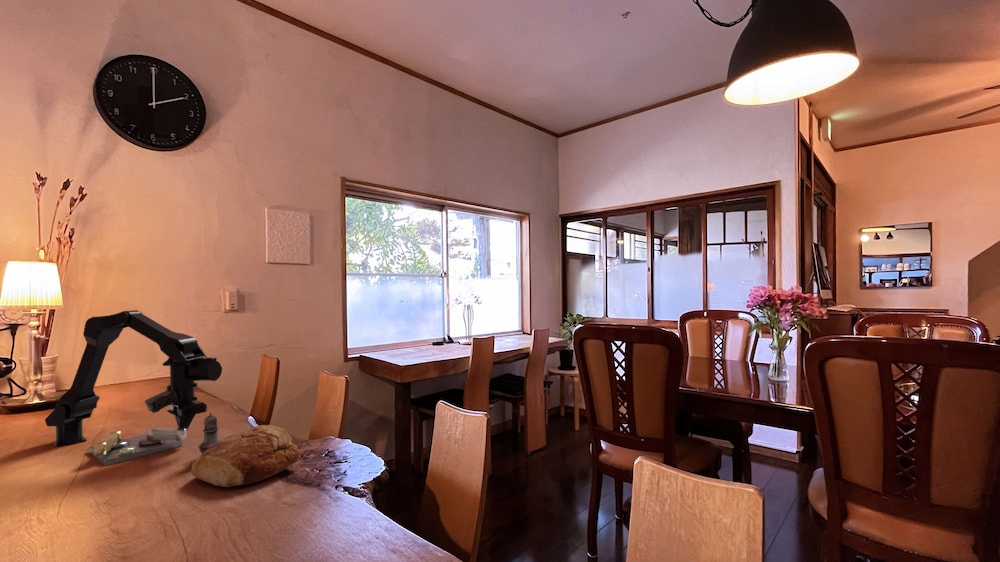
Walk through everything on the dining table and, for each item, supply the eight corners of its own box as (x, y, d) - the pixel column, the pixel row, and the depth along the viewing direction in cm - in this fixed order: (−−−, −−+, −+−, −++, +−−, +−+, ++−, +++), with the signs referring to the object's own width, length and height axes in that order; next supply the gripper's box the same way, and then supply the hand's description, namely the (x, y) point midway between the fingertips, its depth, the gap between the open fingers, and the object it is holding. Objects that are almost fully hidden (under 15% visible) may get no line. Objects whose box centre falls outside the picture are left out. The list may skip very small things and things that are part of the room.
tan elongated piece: (106, 443, 124) (106, 430, 124) (132, 440, 127) (132, 427, 127) (83, 460, 112) (83, 446, 112) (113, 457, 114) (113, 442, 114)
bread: (302, 464, 113) (301, 425, 113) (237, 496, 96) (236, 451, 96) (245, 453, 120) (245, 417, 120) (175, 482, 104) (175, 440, 104)
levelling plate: (89, 452, 122) (89, 443, 122) (163, 434, 136) (163, 426, 136) (104, 466, 113) (104, 456, 113) (182, 445, 126) (182, 436, 126)
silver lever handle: (132, 445, 123) (132, 432, 123) (151, 437, 129) (151, 425, 129) (177, 446, 122) (176, 432, 122) (193, 438, 128) (193, 425, 128)
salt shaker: (211, 461, 115) (210, 416, 115) (192, 460, 116) (191, 415, 116) (229, 453, 120) (228, 409, 120) (211, 451, 122) (210, 408, 122)
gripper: (137, 381, 126) (138, 435, 126) (159, 390, 115) (160, 449, 115) (182, 374, 135) (183, 424, 135) (207, 382, 124) (208, 437, 124)
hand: (183, 433), depth 127 cm, fingers closed
